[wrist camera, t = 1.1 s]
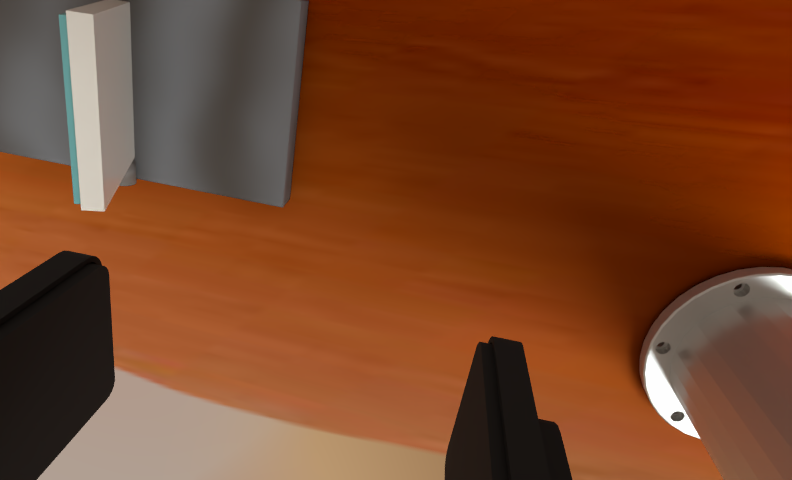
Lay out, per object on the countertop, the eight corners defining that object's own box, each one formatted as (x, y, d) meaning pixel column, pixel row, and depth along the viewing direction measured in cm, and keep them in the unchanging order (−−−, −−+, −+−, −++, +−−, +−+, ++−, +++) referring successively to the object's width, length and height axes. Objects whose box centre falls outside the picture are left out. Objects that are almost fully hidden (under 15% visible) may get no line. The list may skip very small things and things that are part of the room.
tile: (93, 14, 20) (56, 9, 20) (104, 211, 23) (73, 209, 23) (129, 1, 27) (102, -3, 26) (134, 157, 30) (110, 155, 30)
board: (309, -1, 28) (295, -2, 25) (289, 200, 32) (276, 216, 30) (-30, -66, 28) (-77, -73, 25) (-1, 143, 33) (-38, 154, 30)
